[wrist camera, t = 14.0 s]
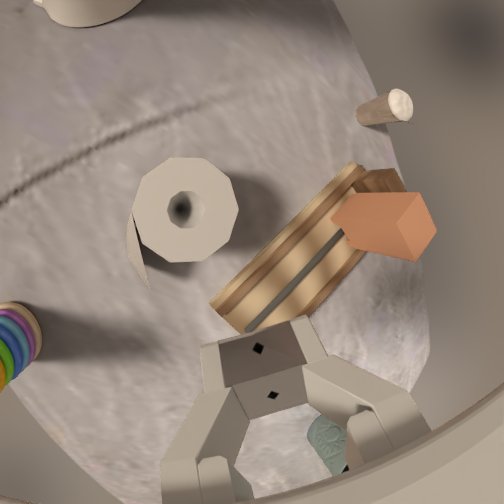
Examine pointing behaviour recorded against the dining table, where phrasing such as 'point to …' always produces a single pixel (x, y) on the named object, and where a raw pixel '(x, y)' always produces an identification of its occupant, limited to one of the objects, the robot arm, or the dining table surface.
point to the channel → (301, 255)
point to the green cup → (329, 443)
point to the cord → (294, 282)
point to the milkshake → (386, 109)
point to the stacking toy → (17, 340)
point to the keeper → (386, 223)
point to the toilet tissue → (181, 212)
